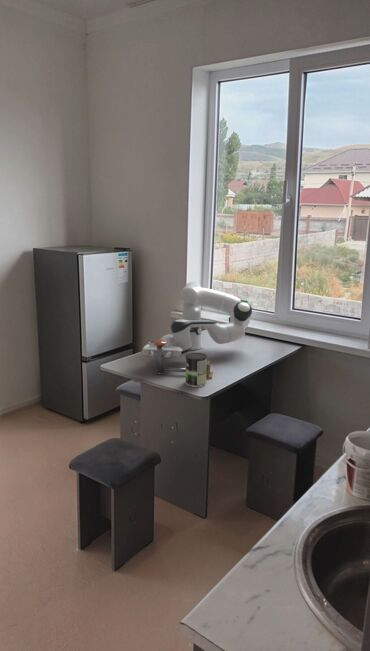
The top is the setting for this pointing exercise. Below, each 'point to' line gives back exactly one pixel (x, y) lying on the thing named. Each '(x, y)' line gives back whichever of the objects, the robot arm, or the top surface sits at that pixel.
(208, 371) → the eye post
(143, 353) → the robot arm
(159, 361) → the hook rod
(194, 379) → the coffee can
